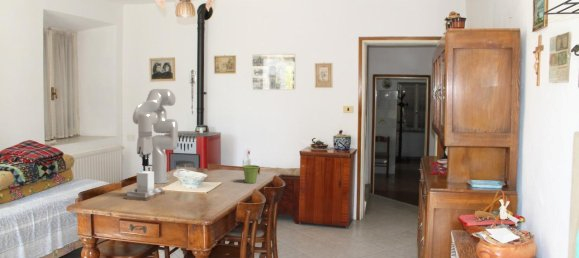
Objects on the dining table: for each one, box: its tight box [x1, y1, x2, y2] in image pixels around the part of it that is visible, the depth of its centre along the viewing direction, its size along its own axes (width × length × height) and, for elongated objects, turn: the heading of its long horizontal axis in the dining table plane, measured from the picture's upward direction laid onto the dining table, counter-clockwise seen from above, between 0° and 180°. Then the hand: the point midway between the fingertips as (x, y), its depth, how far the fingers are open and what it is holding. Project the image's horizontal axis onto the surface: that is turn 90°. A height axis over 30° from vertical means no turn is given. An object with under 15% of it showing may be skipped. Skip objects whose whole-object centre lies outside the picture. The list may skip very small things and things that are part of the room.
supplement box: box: [136, 170, 155, 193], centre depth 274 cm, size 7×7×13 cm
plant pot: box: [242, 164, 261, 184], centre depth 320 cm, size 12×12×11 cm
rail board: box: [124, 186, 166, 202], centre depth 274 cm, size 20×14×4 cm
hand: (145, 165), depth 273 cm, fingers closed
